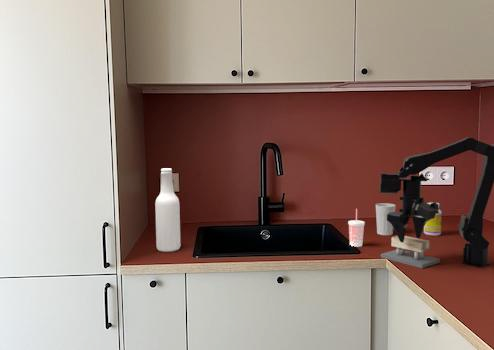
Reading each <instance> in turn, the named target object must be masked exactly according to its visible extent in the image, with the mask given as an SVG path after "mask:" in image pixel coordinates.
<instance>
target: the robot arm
mask: <svg viewBox="0 0 494 350" xmlns="http://www.w3.org/2000/svg"><path fill="white" fill-rule="evenodd" d="M468 151H472V152H474V153H476V154H479V155H481V156H482V161H481V163H482V166H481V167H482V168H481V169H482V170H481V174H480V177H479V180H478V183H477V187H476V188H475V189H476V190H475V193H474V195H473V199H472V202H471V205H470V209H469V211H468V213H467V214H466V215H463V214H461V215H460V222H459V224H457V227H458V228H459V234H460V235H461V237H462V238H463V240H465V242H466V243H464V247H463V249H462V261H461V264H465V265H469V266H472V267H478V268H482V267H485V266H487V265H490V264H491V263H490V261H488V258H489V257H488V256H489V245H490V242H489V241H488V240H487V239H486V238H485V236H484V235H483V230H484V214H485V211H486V209H487V205H488V202H489V199H490V196H491V192H492V190H493V186H494V143H492V144H488V143H485V142H482V141H480V140H477V139H475V138H473V137H471V136H469V137H468V136H466V137H464V138H462V139H460V140H458V141H455V142H453V143H450V144H447V145H445V146H442V147H440V148H437V149H434V150H433V151H430V152H425V153H424V152H423V153H418V154H414V155H409V156H407V157H405V158H404V159H403V162H402V167H401V168H400V169H399V170H398V171H397V173H387V172H386V173H385V172H381V173H380V181H379V194H394V195H396V194H398V192H401V190H402V196H399V201H402V203H401V207H402V208H399V209H398V210H399V211H395V212H391V213H389V214H388V215H387V221H389V223H391V224H392V226H393V231H394V232H395V233H396V236H398V238H399V240H400V242H404V237H405V236H406V228H407V226H409V225H410V223H409V222H410V219H411V218H412V223H413V227H414V233H415V236H416V237H415V238H417V239H421V236H422V234H423V232H424V226H425V224H426V222H427V221H429V220H430V219H434V217H435V215H436V214H437V213H439V211H438V210H440V207H439V208H438V204H437V203H438V202H433V203H431V204H430V205H429V204H427V203H426V202H425V198H424V197H423V196H422V195H421V194H422V193H421V192H422V182H428V179H427V177H425V176H424V174H423V173H422V172H423V171H425V170H426V169H428V168H429V167H431V166H432V165H434V164H436V163H439V162H441V161H445V160H447V159H450V158H451V157H455V156H457V155H461V154H463V153H466V152H468ZM419 173H420V174H419ZM418 174H419V175H418ZM407 177H408V178H407Z"/></svg>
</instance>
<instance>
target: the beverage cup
mask: <svg viewBox="0 0 494 350" xmlns="http://www.w3.org/2000/svg"><path fill="white" fill-rule="evenodd" d="M365 224H366V221H363V220H359V219H358V208H355V219H353V220H352V219H351V220H348V221H347V225H348V236H349V246H350V245H351V247H353V246H354V247H356V248H357V247H358V248H359V247H362V246H363V241H364V228H365Z"/></svg>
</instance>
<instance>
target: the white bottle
mask: <svg viewBox="0 0 494 350" xmlns="http://www.w3.org/2000/svg"><path fill="white" fill-rule="evenodd" d="M160 171H161V172H160V174H161V175H160V177H161V178H160V179H161V180H160V192H159V195H158V196H157V197H156V199H155V202H154V205H155V238H156V239H155V240H156V241H155V243H156V249H157V250H158V251H159V252H164V253H166V252H167V253H169V252H176V251H178V250H180V248H181V246H182V245H181V216H180V213H181V211H180V210H181V208H180V204H181V203H180V200H179V197H178V196H177V195H176V193H175V192H174V183H173V169H172V168H168V167H167V168H166V167H165V168H161V169H160Z"/></svg>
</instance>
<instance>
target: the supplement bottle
mask: <svg viewBox="0 0 494 350" xmlns="http://www.w3.org/2000/svg"><path fill="white" fill-rule="evenodd" d="M431 203H434V202H427V203H426V204H429V205H430V204H431ZM436 203H437V204H438V208H439V210H438V211H439V213H437V214H436V215H435V217H434V219H430V220H429V221H427V222H426V224H425V226H424V228H423V234H424V235H426V236H431V237H432V236H435V237H436V236H439V235H441V234H442V216H443V215H442V213H443V212H442V210H441V209H440V203H439V202H436Z"/></svg>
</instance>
